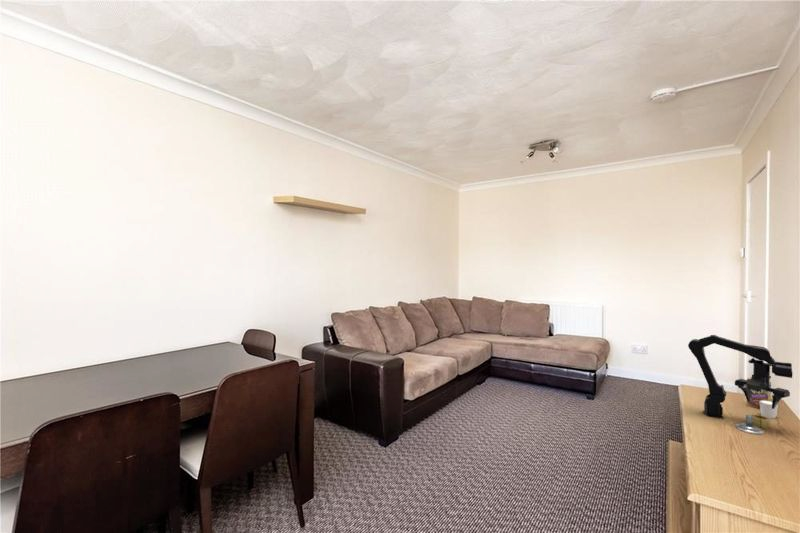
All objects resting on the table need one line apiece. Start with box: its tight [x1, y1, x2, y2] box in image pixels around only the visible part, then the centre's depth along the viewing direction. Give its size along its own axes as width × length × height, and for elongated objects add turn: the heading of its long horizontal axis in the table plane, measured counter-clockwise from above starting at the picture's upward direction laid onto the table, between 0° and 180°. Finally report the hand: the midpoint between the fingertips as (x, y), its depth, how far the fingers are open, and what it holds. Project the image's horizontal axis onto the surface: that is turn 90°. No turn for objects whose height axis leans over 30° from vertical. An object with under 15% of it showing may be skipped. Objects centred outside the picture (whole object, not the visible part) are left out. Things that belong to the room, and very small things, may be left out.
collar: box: [751, 414, 772, 429], centre depth 180 cm, size 6×6×4 cm
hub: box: [734, 414, 765, 435], centre depth 175 cm, size 10×10×6 cm
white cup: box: [759, 400, 779, 419], centre depth 191 cm, size 7×7×7 cm
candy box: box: [746, 376, 772, 410], centre depth 202 cm, size 9×4×15 cm, turn 28°
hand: (760, 405), depth 180 cm, fingers open, 9 cm apart
